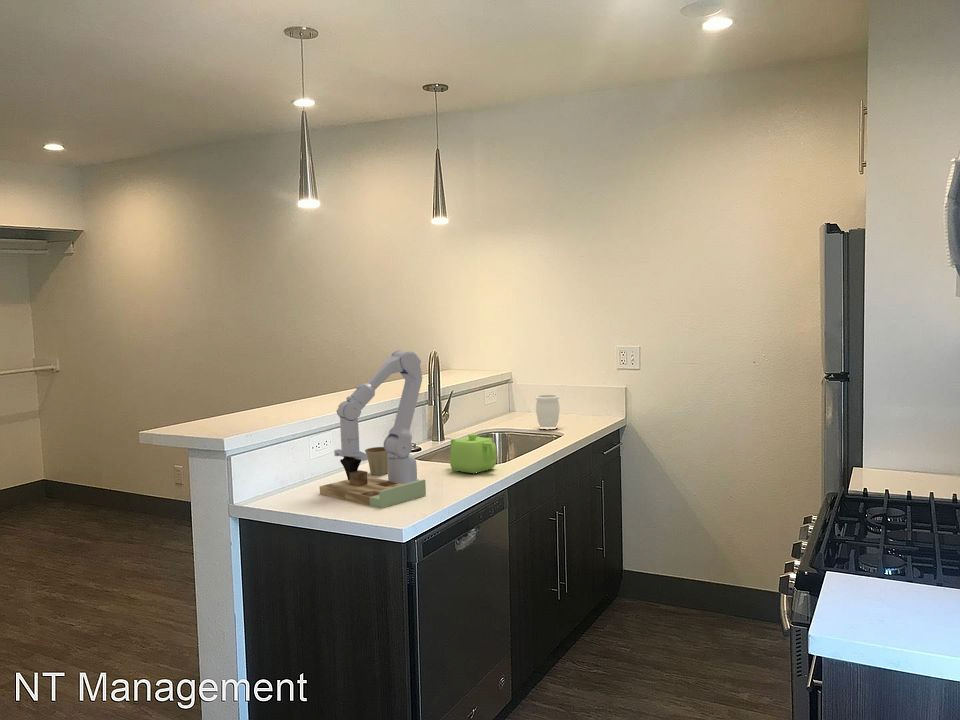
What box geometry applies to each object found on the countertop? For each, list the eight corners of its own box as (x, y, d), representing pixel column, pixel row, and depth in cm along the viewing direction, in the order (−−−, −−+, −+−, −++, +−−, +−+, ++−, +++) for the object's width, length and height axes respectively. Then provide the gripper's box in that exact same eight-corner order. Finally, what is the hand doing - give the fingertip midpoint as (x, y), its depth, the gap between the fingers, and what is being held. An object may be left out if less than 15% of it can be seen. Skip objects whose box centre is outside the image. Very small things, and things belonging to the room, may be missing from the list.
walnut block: (359, 482, 262) (359, 470, 262) (367, 484, 260) (367, 471, 259) (349, 484, 259) (349, 472, 259) (357, 486, 257) (357, 474, 256)
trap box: (363, 483, 272) (362, 468, 272) (426, 495, 252) (425, 479, 252) (319, 494, 259) (319, 478, 258) (382, 508, 239) (381, 491, 238)
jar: (563, 428, 369) (563, 395, 368) (553, 431, 360) (552, 398, 359) (543, 426, 375) (542, 394, 373) (532, 430, 366) (531, 397, 365)
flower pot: (375, 477, 280) (373, 453, 279) (360, 473, 287) (359, 449, 286) (397, 473, 286) (396, 449, 285) (383, 469, 293) (382, 445, 292)
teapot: (472, 462, 301) (471, 427, 300) (515, 467, 288) (514, 431, 287) (438, 471, 287) (437, 434, 286) (482, 477, 274) (481, 439, 273)
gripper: (326, 438, 263) (328, 479, 264) (354, 442, 253) (356, 485, 254) (343, 435, 268) (345, 475, 269) (371, 439, 258) (373, 481, 259)
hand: (351, 480), depth 262 cm, fingers closed
